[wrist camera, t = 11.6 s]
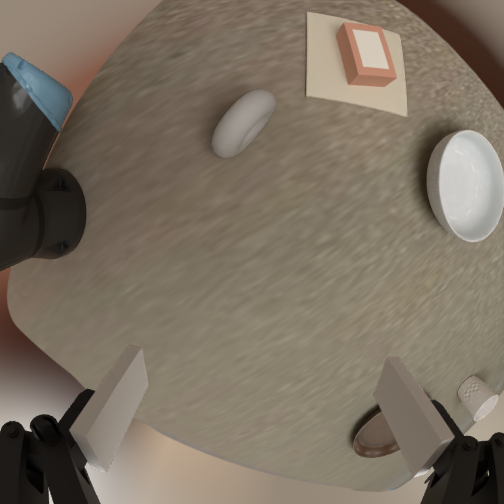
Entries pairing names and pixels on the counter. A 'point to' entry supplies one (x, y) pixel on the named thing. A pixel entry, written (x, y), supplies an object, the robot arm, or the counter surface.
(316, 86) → the mat
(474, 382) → the white cup
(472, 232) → the cereal bowl
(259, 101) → the donut
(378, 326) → the counter surface
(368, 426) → the plant saucer
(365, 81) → the card box
